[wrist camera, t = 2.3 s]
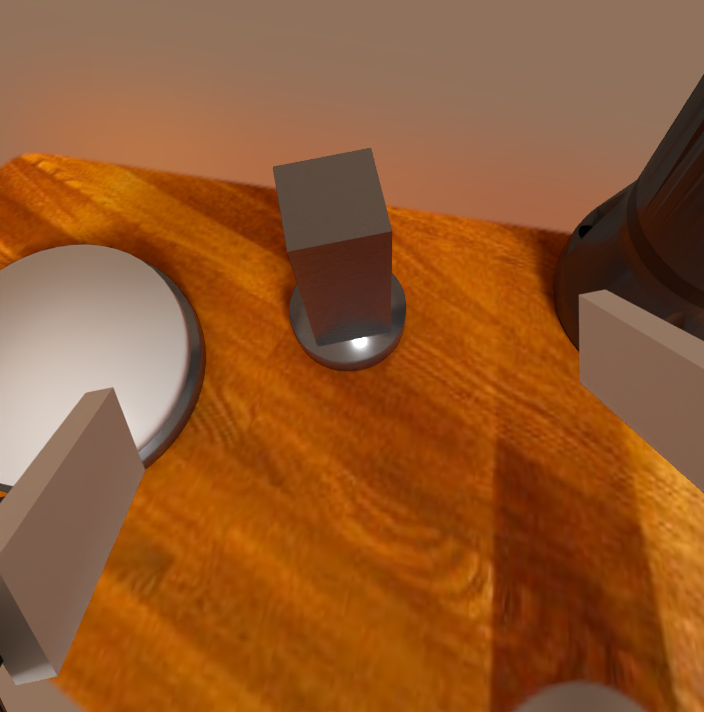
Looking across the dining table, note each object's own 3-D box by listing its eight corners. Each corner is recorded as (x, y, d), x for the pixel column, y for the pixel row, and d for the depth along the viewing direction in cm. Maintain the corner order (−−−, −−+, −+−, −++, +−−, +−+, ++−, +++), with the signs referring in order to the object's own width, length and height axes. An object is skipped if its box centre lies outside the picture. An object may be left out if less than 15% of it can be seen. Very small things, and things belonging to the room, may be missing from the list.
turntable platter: (181, 236, 41) (172, 221, 40) (201, 460, 35) (192, 455, 33) (-46, 280, 41) (-64, 267, 39) (-66, 514, 35) (-89, 511, 33)
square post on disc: (392, 260, 41) (393, 119, 28) (416, 358, 39) (430, 252, 25) (286, 281, 41) (239, 149, 28) (303, 381, 38) (259, 285, 25)
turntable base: (194, 241, 43) (188, 230, 42) (217, 471, 37) (211, 467, 35) (-36, 286, 43) (-50, 276, 41) (-54, 525, 36) (-72, 524, 35)
